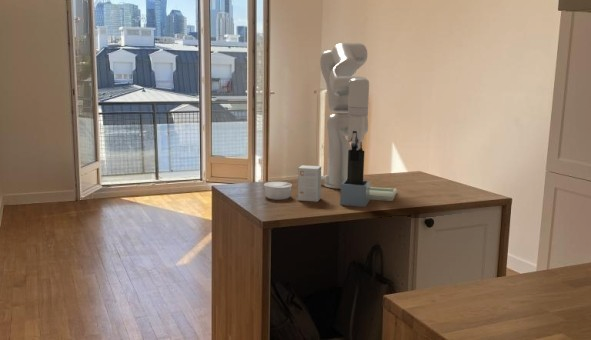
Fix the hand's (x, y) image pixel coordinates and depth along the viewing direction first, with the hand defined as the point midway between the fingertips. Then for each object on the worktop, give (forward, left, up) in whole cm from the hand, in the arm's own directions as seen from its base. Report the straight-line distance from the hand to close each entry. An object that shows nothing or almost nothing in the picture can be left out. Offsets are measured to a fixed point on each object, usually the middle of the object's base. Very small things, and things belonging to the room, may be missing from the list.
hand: (356, 158), depth 228 cm
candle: (0, 0, -10) cm, 10 cm away
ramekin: (-31, -1, -17) cm, 35 cm away
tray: (+6, +14, -17) cm, 23 cm away
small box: (-18, -1, -17) cm, 25 cm away
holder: (0, -1, -17) cm, 17 cm away
